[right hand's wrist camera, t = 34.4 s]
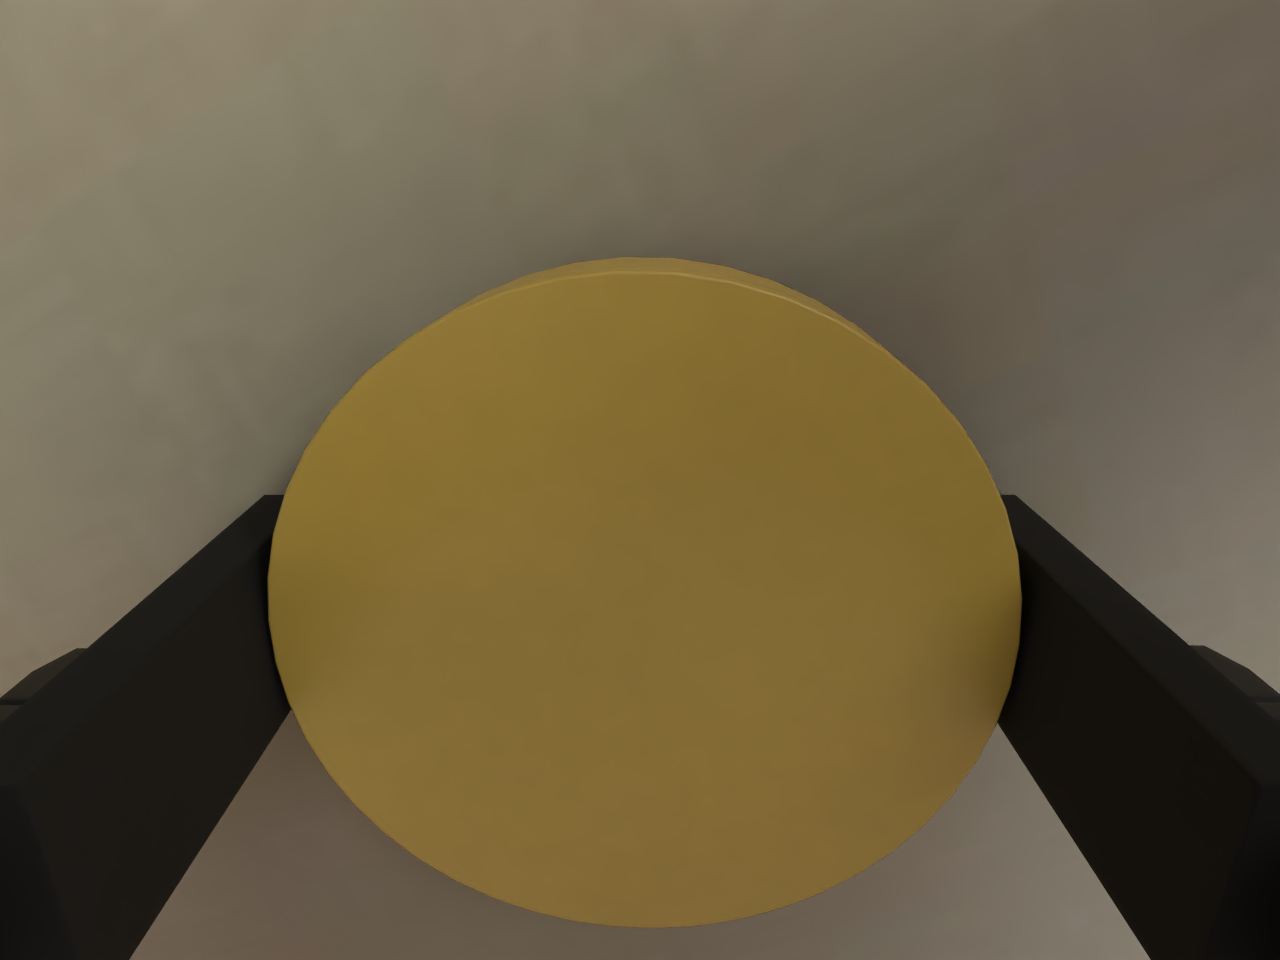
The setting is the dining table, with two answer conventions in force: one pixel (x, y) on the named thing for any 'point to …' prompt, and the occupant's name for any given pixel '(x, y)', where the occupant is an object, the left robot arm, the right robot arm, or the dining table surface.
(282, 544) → the lid
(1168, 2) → the dining table surface
